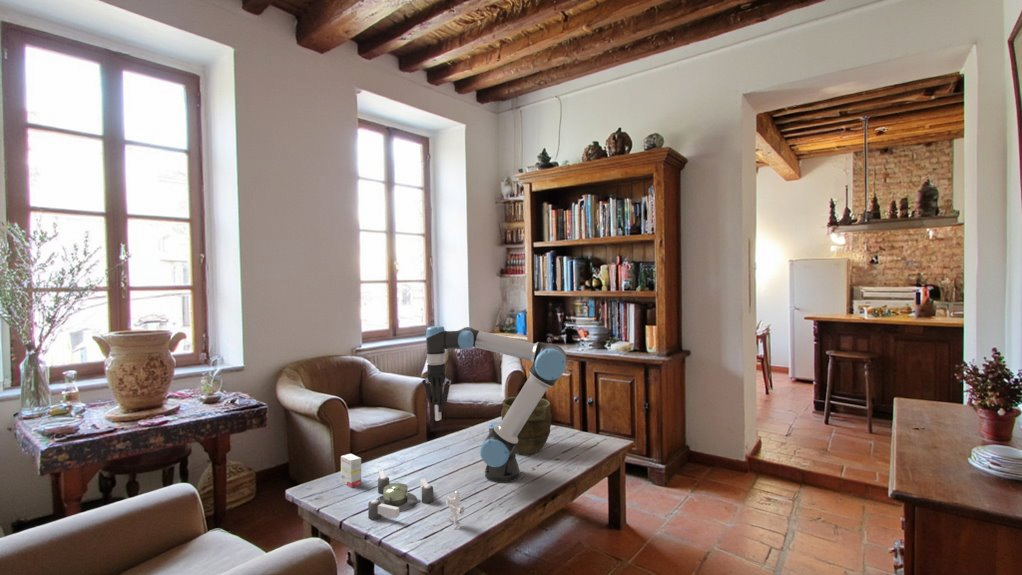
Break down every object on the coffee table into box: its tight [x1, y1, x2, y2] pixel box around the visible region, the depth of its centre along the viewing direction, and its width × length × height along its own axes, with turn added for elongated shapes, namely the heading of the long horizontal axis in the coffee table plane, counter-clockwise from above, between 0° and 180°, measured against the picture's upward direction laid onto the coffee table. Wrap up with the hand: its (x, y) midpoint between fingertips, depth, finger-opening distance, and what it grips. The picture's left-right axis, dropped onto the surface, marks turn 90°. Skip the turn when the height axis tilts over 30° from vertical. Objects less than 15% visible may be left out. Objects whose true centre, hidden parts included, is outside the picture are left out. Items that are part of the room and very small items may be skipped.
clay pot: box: [500, 396, 553, 456], centre depth 241 cm, size 25×25×25 cm
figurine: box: [445, 490, 466, 530], centre depth 167 cm, size 5×9×12 cm, turn 57°
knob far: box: [377, 469, 390, 495], centre depth 196 cm, size 12×4×6 cm, turn 21°
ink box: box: [340, 453, 362, 489], centre depth 201 cm, size 9×5×12 cm, turn 49°
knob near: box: [419, 477, 434, 505], centre depth 188 cm, size 12×4×6 cm, turn 21°
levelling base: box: [375, 482, 421, 513], centre depth 180 cm, size 26×23×7 cm
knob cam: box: [367, 499, 400, 521], centre depth 170 cm, size 12×4×6 cm, turn 66°
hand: (438, 419), depth 200 cm, fingers closed
